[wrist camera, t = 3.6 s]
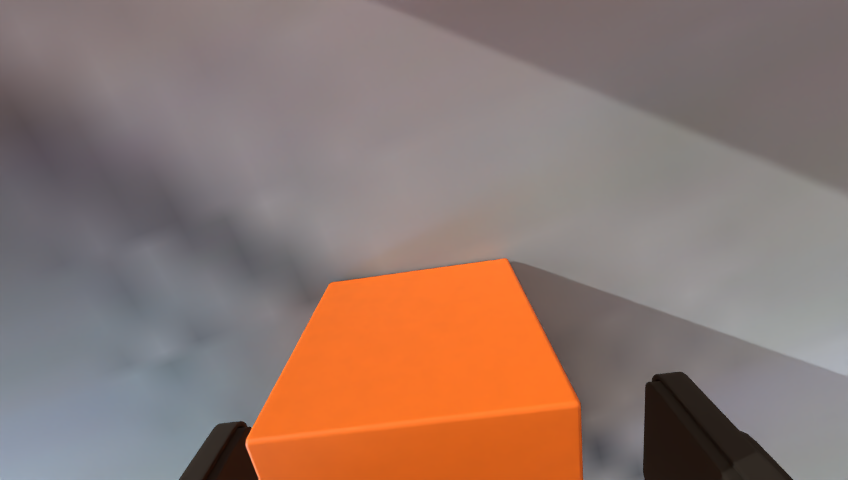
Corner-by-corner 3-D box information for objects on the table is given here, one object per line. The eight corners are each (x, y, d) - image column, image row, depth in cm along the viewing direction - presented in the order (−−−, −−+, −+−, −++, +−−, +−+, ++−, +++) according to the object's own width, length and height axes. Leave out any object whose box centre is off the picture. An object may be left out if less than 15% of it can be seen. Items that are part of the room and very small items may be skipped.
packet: (329, 281, 10) (241, 442, 5) (507, 257, 10) (582, 403, 5) (381, 485, 12) (352, 724, 8) (527, 469, 12) (591, 707, 7)
